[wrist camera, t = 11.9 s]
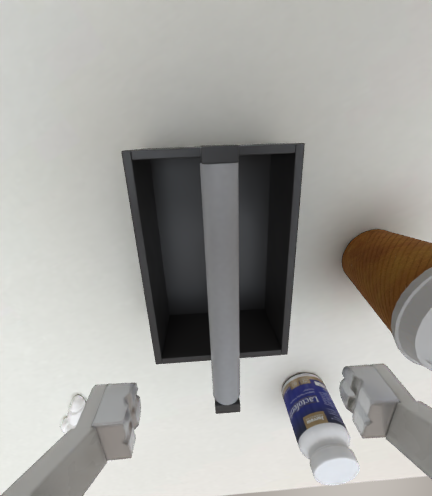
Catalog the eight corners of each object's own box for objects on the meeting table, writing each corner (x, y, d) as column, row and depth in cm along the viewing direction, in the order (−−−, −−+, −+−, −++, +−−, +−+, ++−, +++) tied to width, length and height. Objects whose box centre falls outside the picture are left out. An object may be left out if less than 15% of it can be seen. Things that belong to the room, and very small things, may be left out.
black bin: (142, 147, 23) (90, 150, 12) (276, 142, 24) (344, 140, 13) (165, 317, 30) (145, 420, 19) (268, 310, 30) (308, 406, 19)
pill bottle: (300, 364, 34) (338, 447, 25) (331, 382, 35) (377, 466, 26) (272, 392, 35) (297, 479, 26) (302, 407, 37) (336, 495, 28)
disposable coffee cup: (334, 304, 31) (411, 395, 20) (320, 231, 27) (404, 292, 16) (415, 278, 30) (542, 358, 19) (411, 201, 26) (564, 242, 15)
